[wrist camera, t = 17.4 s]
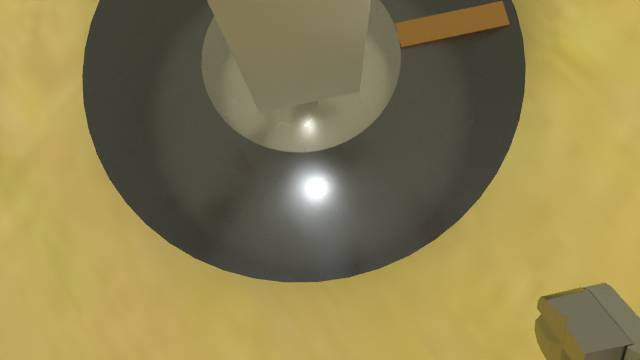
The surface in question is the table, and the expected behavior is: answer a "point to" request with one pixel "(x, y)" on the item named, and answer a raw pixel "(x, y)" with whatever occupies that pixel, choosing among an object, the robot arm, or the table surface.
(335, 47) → the off-white block
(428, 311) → the table surface
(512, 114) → the turntable
